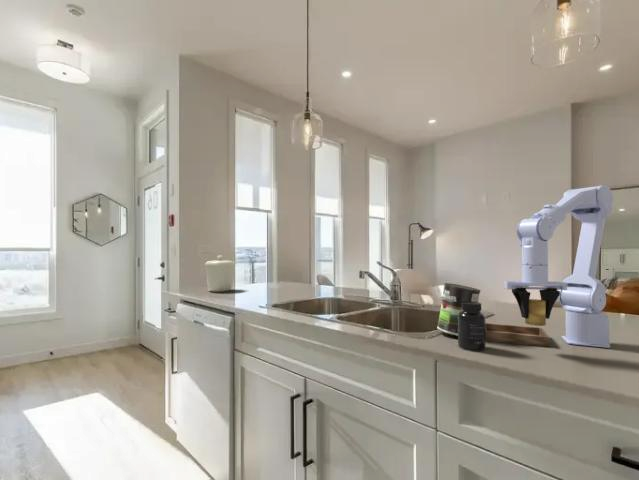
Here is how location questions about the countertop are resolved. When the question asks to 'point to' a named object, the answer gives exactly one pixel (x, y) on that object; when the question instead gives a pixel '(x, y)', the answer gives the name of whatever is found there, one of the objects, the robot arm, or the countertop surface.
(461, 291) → the coffee can
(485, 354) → the countertop surface
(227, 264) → the canister
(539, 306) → the tan wooden cylinder
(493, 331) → the tray
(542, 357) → the countertop surface
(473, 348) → the supplement bottle
